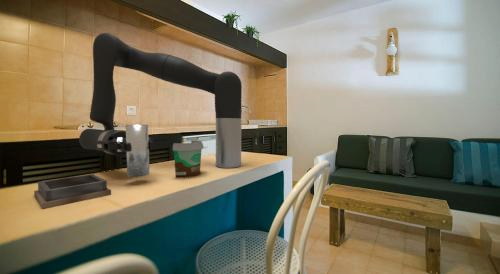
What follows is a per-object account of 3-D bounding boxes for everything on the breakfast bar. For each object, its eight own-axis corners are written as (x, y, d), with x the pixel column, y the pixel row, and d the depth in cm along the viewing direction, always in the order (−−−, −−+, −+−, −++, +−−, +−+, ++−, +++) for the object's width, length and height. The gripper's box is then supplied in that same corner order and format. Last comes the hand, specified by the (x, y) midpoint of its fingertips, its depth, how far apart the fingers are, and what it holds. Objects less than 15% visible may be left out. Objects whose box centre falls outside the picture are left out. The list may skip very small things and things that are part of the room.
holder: (95, 184, 58) (94, 173, 57) (111, 194, 50) (110, 180, 50) (34, 195, 49) (33, 181, 49) (42, 208, 42) (41, 192, 42)
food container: (193, 180, 63) (192, 144, 62) (172, 178, 64) (172, 143, 64) (209, 170, 75) (209, 140, 74) (192, 169, 76) (192, 139, 76)
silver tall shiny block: (134, 171, 63) (133, 124, 62) (153, 172, 62) (151, 124, 61) (122, 176, 58) (120, 124, 56) (142, 177, 57) (141, 125, 56)
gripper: (86, 130, 64) (108, 132, 53) (139, 129, 75) (166, 130, 63) (88, 157, 64) (109, 165, 53) (140, 152, 75) (167, 157, 64)
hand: (140, 146), depth 58 cm, fingers closed on silver tall shiny block, 5 cm apart
